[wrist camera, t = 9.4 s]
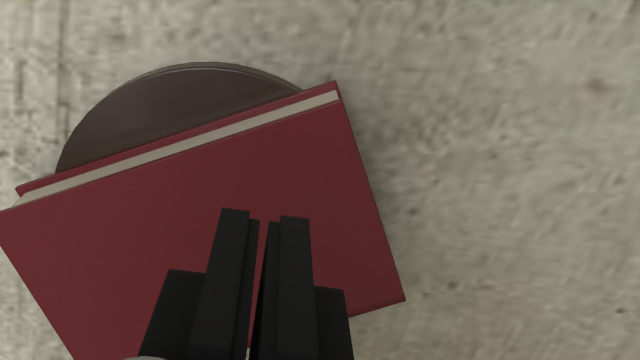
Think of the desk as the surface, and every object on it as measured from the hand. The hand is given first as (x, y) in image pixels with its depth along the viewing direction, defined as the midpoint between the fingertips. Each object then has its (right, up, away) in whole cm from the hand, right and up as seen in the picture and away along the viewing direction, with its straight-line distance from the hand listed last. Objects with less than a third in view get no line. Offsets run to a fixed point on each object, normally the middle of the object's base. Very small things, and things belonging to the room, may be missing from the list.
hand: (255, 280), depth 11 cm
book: (-3, 0, +14) cm, 15 cm away
